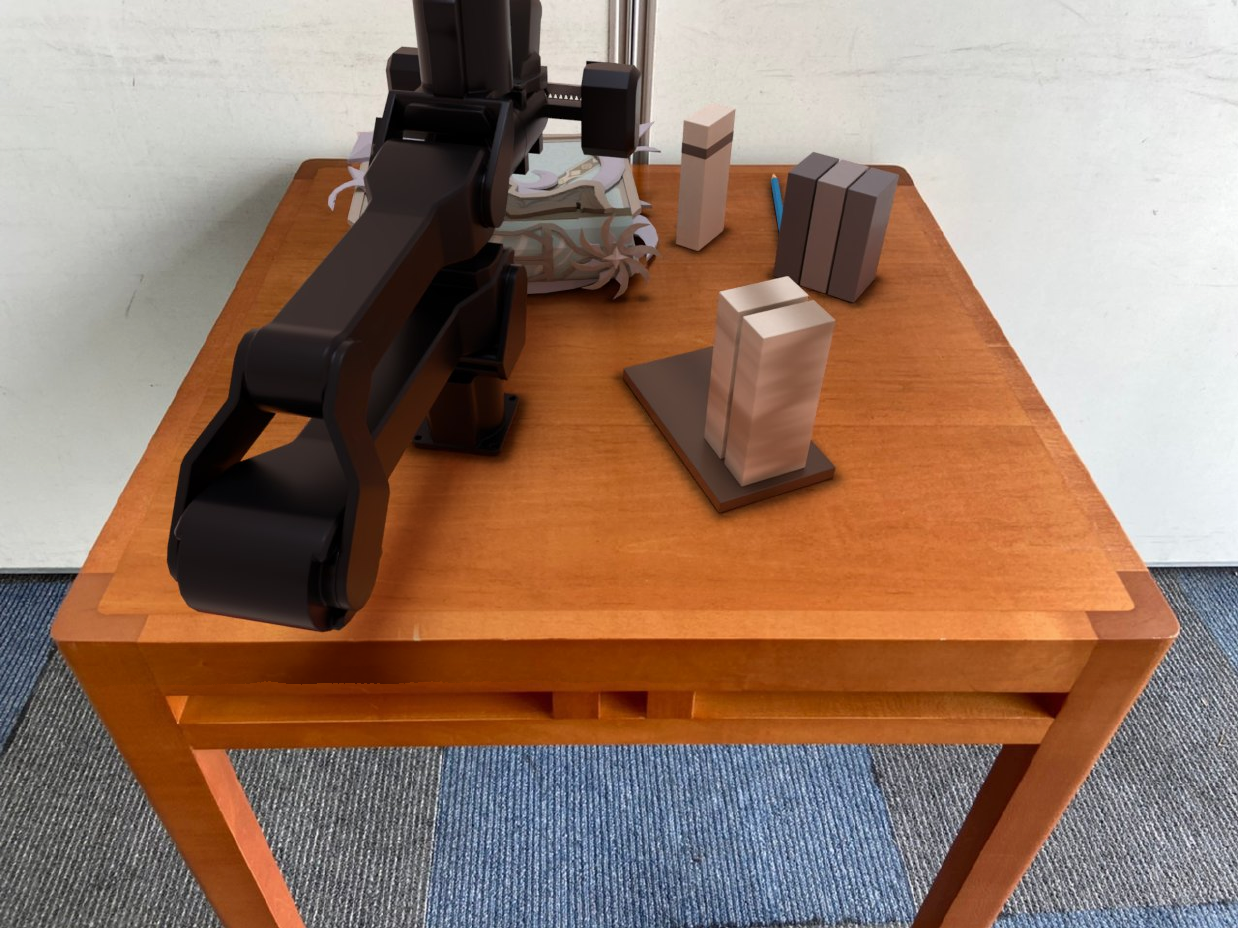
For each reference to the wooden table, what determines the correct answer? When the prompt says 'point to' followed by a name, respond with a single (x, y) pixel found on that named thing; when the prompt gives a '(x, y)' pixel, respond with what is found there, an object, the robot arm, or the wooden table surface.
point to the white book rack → (746, 395)
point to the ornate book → (559, 215)
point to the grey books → (834, 225)
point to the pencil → (777, 199)
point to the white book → (704, 175)
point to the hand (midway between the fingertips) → (542, 70)
